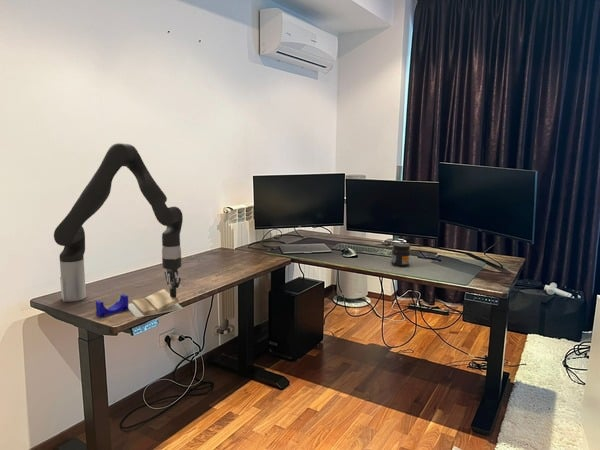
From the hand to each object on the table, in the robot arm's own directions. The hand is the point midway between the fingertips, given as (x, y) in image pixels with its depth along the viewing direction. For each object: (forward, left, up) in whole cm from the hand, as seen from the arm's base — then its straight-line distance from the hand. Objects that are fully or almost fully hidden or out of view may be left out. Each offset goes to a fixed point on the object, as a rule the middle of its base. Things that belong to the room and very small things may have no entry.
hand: (173, 296), depth 193 cm
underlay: (-7, +5, -5) cm, 9 cm away
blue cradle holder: (-23, +8, -5) cm, 24 cm away
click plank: (-3, +5, -3) cm, 6 cm away
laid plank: (-11, +5, -4) cm, 12 cm away
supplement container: (+134, -1, -5) cm, 134 cm away
